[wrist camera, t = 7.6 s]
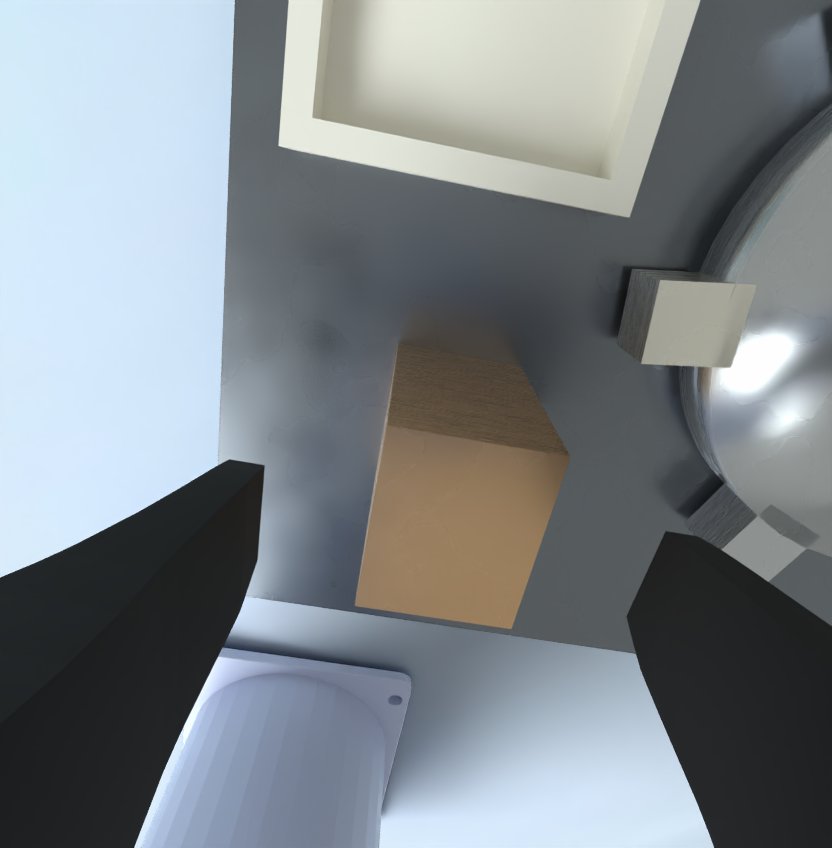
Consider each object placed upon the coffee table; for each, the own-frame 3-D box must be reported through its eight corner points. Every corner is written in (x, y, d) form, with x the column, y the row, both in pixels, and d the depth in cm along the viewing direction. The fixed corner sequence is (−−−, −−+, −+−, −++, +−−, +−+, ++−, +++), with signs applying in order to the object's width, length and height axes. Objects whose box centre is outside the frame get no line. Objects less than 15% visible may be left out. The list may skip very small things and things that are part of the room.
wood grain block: (484, 497, 15) (511, 629, 11) (374, 478, 15) (354, 606, 11) (520, 366, 14) (570, 457, 9) (398, 344, 14) (386, 425, 9)
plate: (893, 674, 19) (912, 694, 18) (222, 574, 18) (213, 591, 17) (1415, -3, 11) (1485, -16, 10) (261, -304, 9) (247, -344, 9)
